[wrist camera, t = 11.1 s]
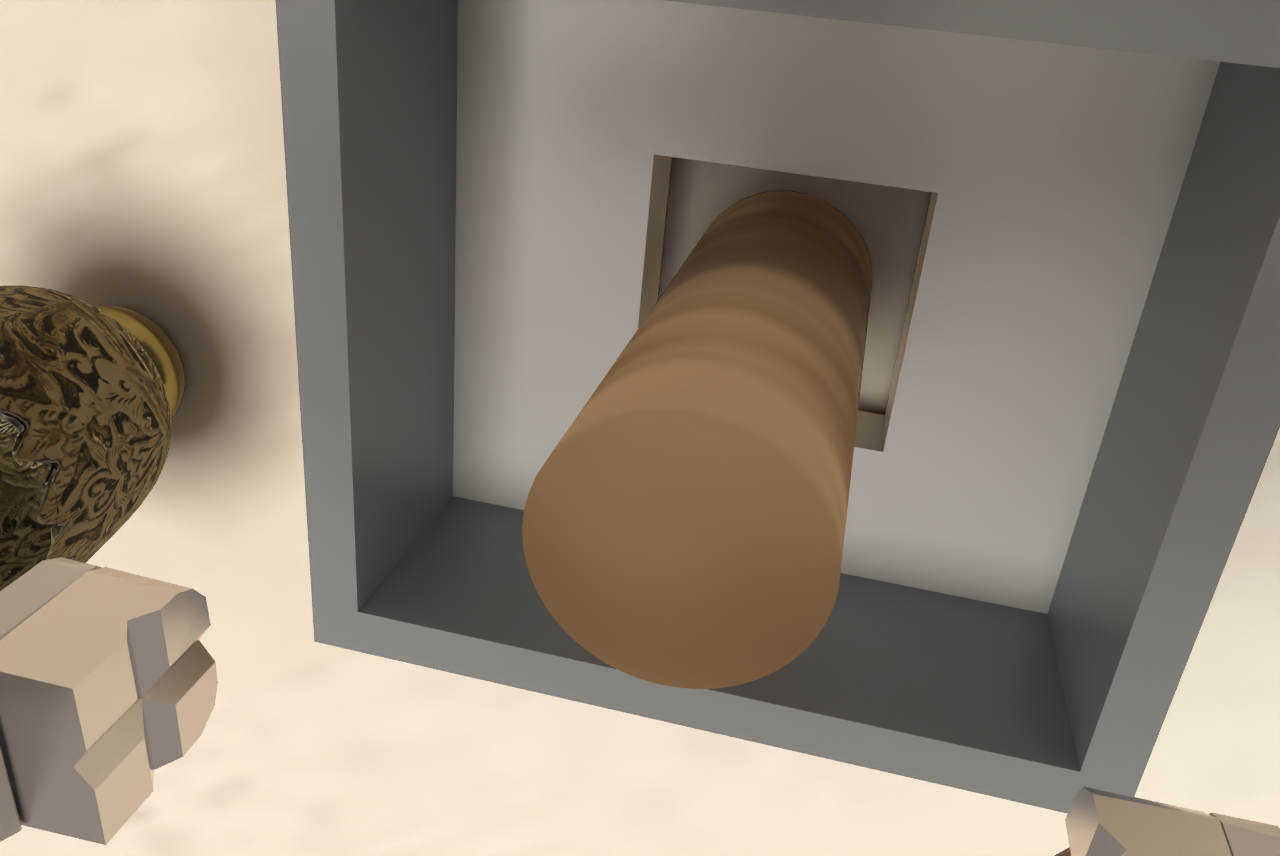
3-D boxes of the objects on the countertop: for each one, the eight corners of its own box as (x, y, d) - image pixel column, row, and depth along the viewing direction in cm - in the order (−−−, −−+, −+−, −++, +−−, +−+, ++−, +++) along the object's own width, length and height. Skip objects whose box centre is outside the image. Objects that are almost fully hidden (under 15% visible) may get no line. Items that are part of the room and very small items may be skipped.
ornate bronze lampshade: (267, 270, 26) (33, 389, 19) (256, 513, 30) (53, 690, 23) (6, 195, 27) (-309, 283, 20) (24, 439, 31) (-241, 588, 24)
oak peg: (703, 179, 23) (529, 381, 12) (887, 204, 22) (869, 442, 12) (684, 348, 25) (516, 652, 14) (854, 376, 24) (811, 718, 13)
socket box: (450, -100, 22) (268, -117, 16) (1273, -20, 19) (1448, -2, 13) (446, 486, 28) (314, 641, 22) (1069, 609, 25) (1122, 826, 19)
